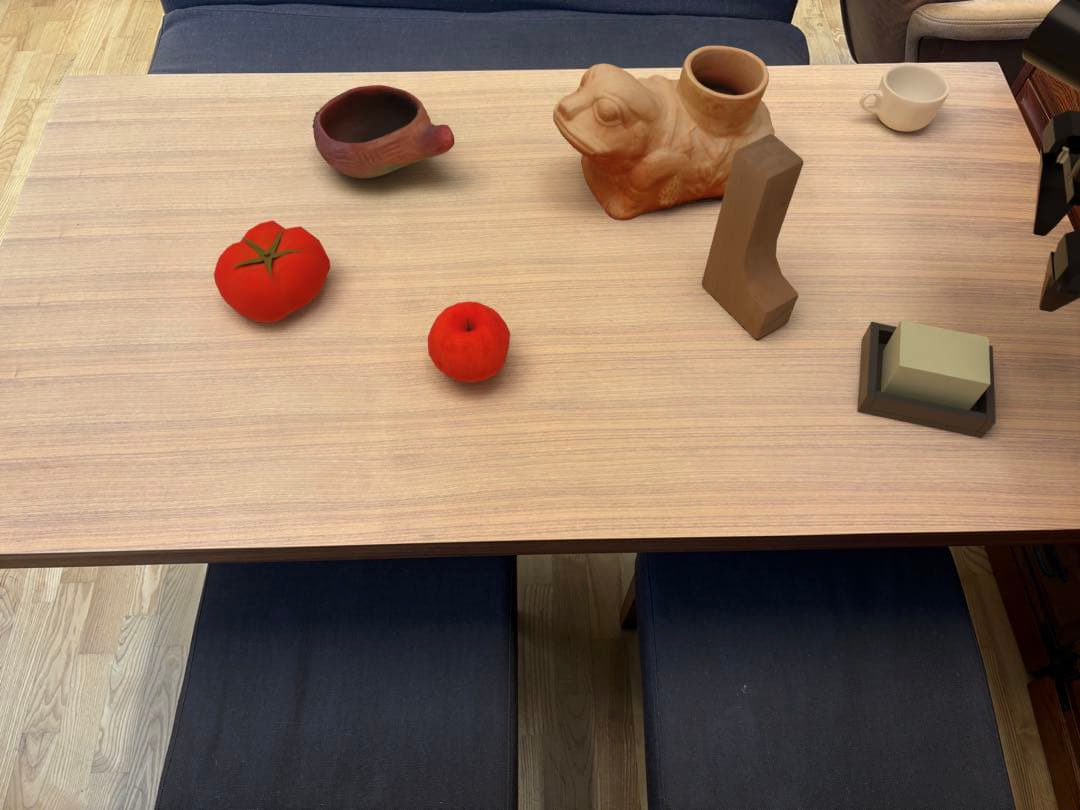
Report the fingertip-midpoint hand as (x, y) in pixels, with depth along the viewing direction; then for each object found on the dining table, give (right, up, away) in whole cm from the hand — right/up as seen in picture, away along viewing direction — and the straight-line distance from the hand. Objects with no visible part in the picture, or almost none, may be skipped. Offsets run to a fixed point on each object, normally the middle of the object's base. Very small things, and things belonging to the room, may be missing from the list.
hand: (1041, 270), depth 75 cm
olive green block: (-7, -10, +7) cm, 14 cm away
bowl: (-62, +17, +25) cm, 69 cm away
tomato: (-72, 0, +14) cm, 73 cm away
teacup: (-1, +23, +30) cm, 37 cm away
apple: (-51, -8, +9) cm, 53 cm away
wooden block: (-23, -1, +13) cm, 27 cm away
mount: (-7, -10, +8) cm, 15 cm away
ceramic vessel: (-31, +15, +24) cm, 42 cm away
